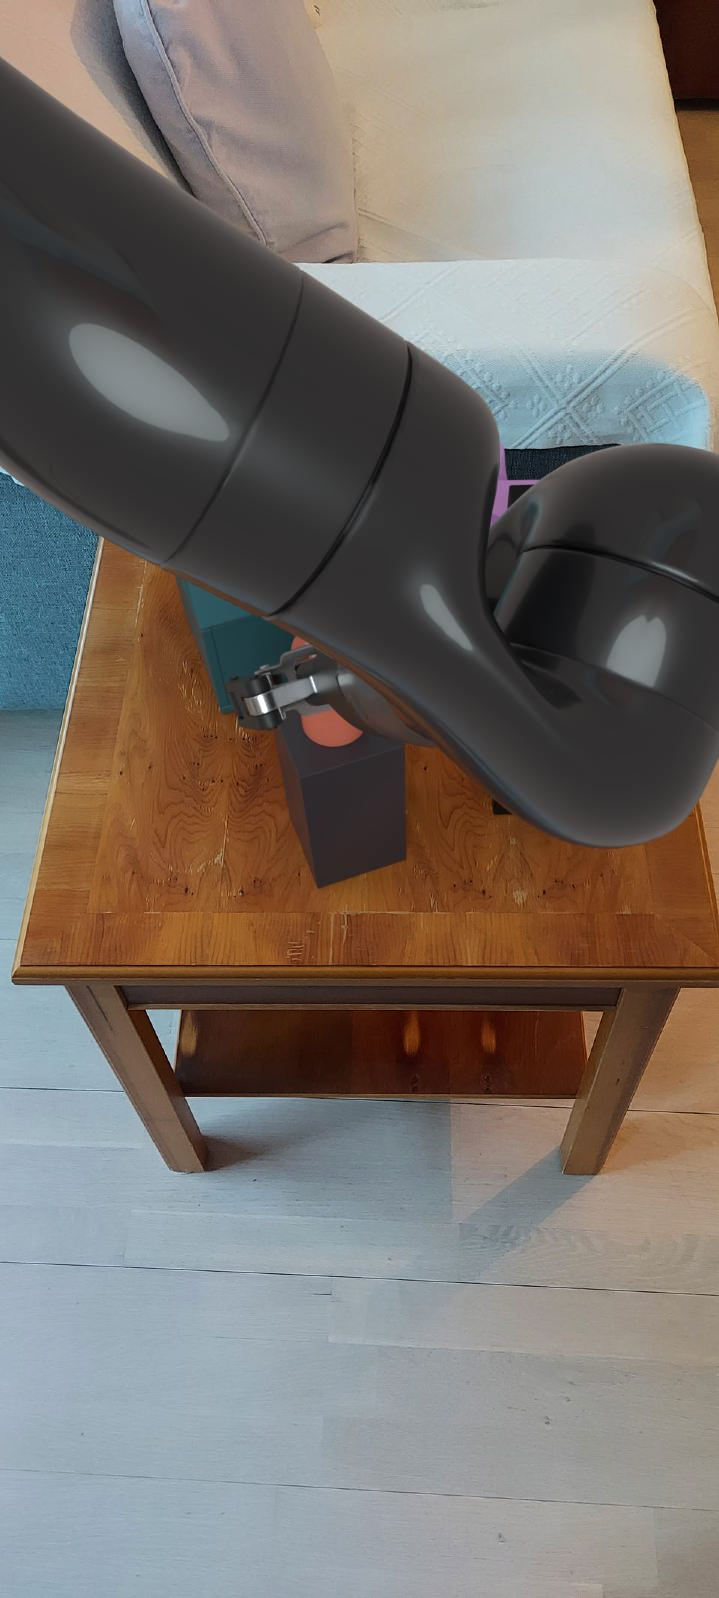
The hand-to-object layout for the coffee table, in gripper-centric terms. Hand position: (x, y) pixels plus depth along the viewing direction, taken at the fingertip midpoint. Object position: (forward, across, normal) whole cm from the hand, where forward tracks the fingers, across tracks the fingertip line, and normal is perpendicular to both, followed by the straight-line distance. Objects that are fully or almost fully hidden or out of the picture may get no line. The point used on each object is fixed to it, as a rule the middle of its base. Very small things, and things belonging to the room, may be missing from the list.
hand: (334, 660), depth 58 cm
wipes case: (+31, -2, -2) cm, 31 cm away
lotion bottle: (+6, 0, +4) cm, 7 cm away
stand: (+15, 0, +14) cm, 21 cm away
